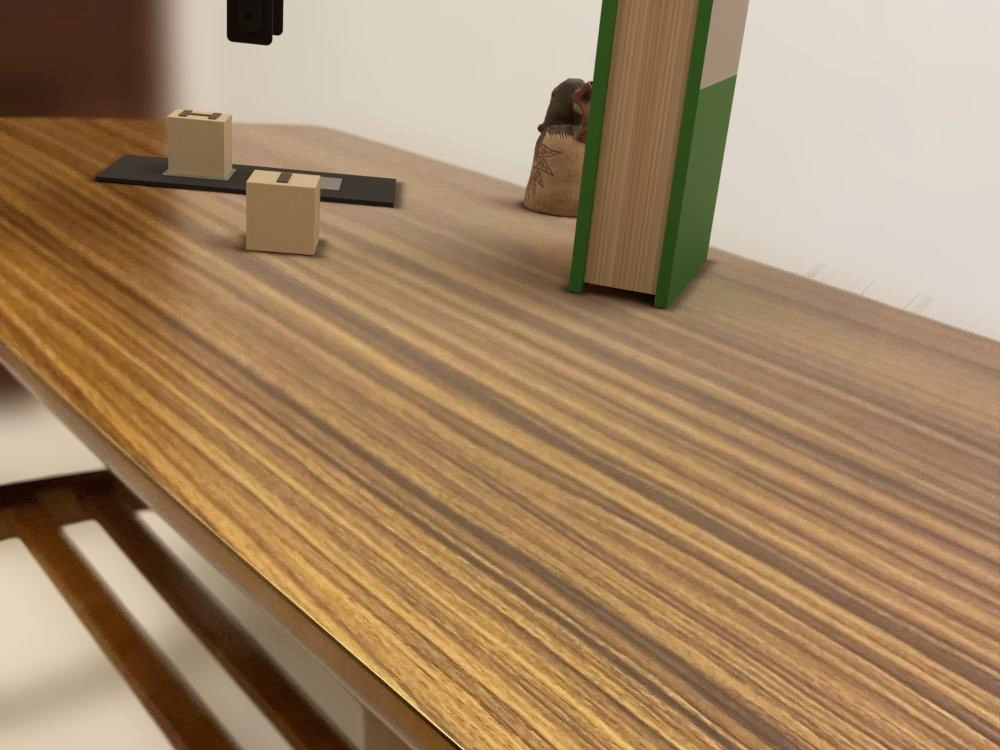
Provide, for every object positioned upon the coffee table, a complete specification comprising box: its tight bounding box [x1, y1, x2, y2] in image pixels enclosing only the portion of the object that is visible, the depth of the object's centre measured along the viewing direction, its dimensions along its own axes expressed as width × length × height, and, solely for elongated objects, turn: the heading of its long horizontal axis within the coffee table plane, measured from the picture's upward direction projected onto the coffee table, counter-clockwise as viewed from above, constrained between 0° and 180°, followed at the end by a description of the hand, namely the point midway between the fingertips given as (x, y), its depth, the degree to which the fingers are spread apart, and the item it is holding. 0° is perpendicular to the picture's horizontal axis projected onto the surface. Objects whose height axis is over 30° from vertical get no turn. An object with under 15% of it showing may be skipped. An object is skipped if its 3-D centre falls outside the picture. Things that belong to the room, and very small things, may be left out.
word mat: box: [95, 153, 397, 208], centre depth 115 cm, size 26×12×1 cm, turn 95°
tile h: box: [166, 108, 233, 179], centre depth 113 cm, size 5×5×5 cm
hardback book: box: [567, 0, 750, 309], centre depth 93 cm, size 18×7×24 cm, turn 163°
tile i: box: [245, 170, 321, 256], centre depth 93 cm, size 5×5×5 cm
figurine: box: [523, 77, 593, 218], centre depth 116 cm, size 7×7×12 cm
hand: (256, 38), depth 94 cm, fingers open, 9 cm apart
